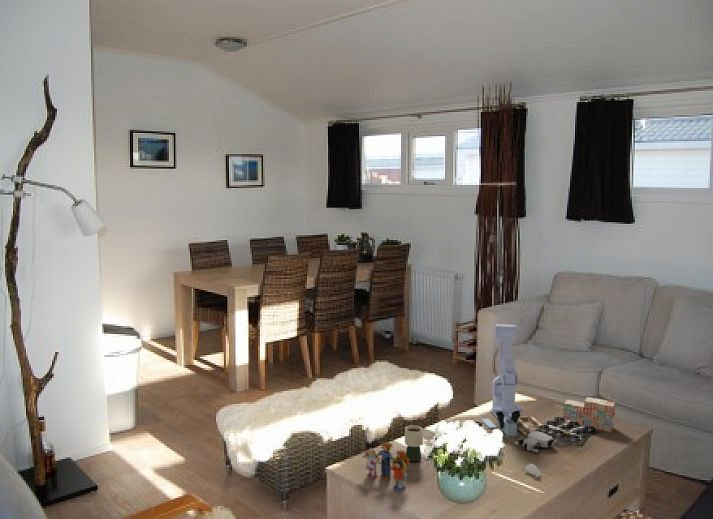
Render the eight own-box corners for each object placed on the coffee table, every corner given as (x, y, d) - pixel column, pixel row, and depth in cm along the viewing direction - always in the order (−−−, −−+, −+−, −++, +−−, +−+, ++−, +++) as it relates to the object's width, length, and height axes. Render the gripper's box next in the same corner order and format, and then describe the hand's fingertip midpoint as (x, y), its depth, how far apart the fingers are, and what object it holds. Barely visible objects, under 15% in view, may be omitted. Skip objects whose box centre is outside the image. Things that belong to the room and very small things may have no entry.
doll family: (360, 474, 240) (361, 441, 238) (377, 466, 247) (378, 434, 245) (403, 493, 225) (404, 458, 224) (420, 484, 232) (421, 450, 231)
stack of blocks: (562, 422, 293) (563, 396, 292) (566, 418, 299) (567, 393, 297) (611, 432, 282) (612, 406, 280) (613, 428, 287) (615, 402, 286)
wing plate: (481, 421, 294) (481, 419, 294) (488, 421, 295) (488, 418, 295) (489, 429, 285) (489, 427, 285) (496, 429, 285) (496, 426, 285)
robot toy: (536, 458, 257) (558, 446, 266) (536, 448, 256) (558, 436, 265) (512, 448, 266) (534, 437, 275) (512, 438, 266) (534, 427, 275)
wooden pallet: (509, 422, 292) (510, 416, 292) (534, 420, 294) (534, 414, 294) (524, 436, 277) (524, 429, 276) (549, 434, 279) (550, 428, 278)
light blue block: (497, 425, 289) (498, 413, 288) (506, 425, 289) (506, 412, 288) (507, 436, 277) (508, 423, 276) (516, 436, 278) (517, 422, 277)
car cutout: (545, 476, 241) (545, 464, 241) (535, 481, 237) (536, 470, 236) (512, 462, 252) (512, 451, 252) (502, 467, 248) (502, 456, 247)
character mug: (428, 462, 250) (429, 431, 248) (414, 467, 246) (415, 435, 244) (411, 452, 259) (412, 422, 257) (397, 456, 255) (398, 426, 253)
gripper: (496, 402, 276) (495, 431, 278) (527, 400, 278) (526, 430, 280) (490, 396, 283) (489, 425, 285) (521, 395, 285) (519, 424, 287)
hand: (507, 427), depth 283 cm, fingers open, 5 cm apart
